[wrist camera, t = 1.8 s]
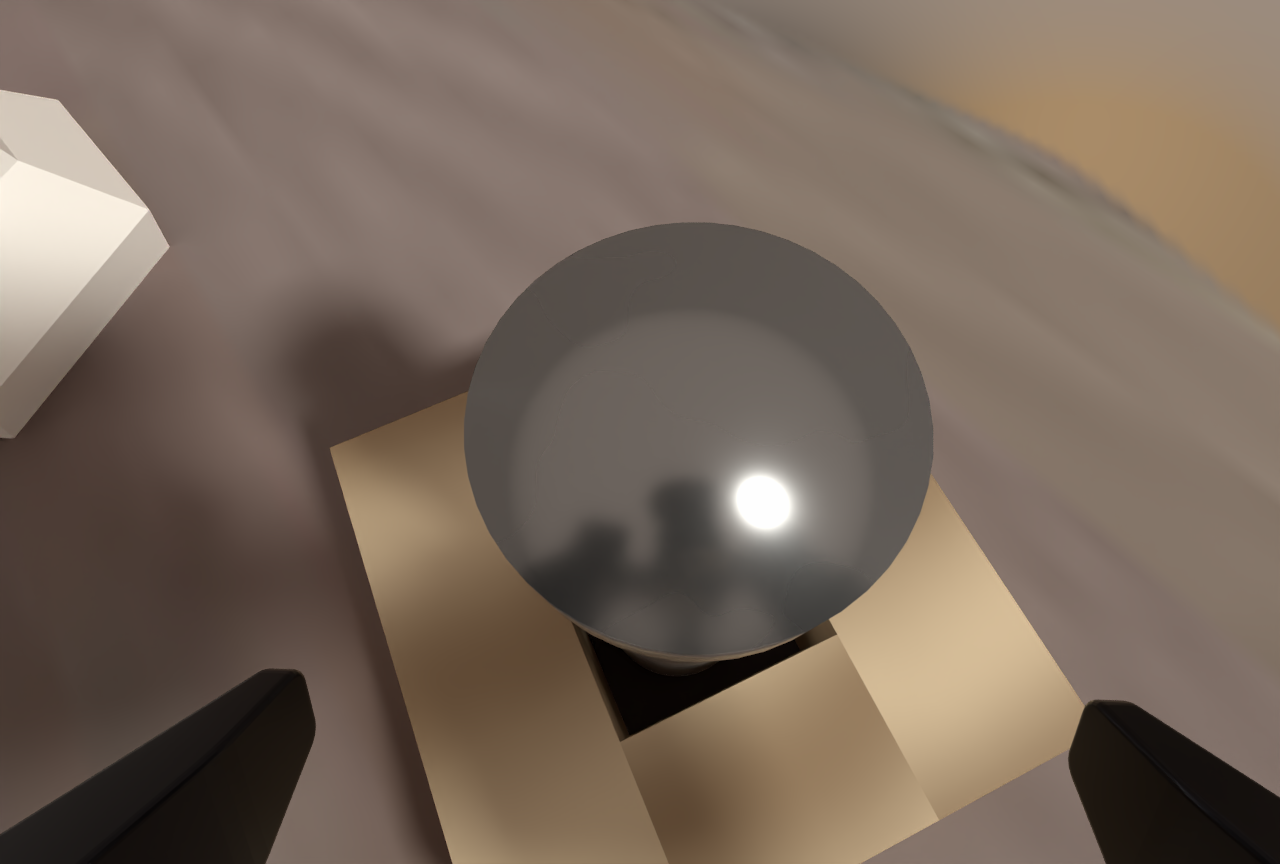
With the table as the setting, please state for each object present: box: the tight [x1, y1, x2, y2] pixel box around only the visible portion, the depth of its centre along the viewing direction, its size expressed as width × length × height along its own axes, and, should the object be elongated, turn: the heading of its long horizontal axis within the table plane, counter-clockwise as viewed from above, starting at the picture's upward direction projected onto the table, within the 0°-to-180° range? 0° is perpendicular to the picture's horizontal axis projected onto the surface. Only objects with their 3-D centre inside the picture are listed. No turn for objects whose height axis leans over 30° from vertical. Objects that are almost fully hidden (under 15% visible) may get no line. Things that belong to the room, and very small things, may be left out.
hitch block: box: [330, 391, 1085, 864], centre depth 16 cm, size 12×12×4 cm
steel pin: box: [464, 223, 933, 676], centre depth 12 cm, size 4×4×12 cm
